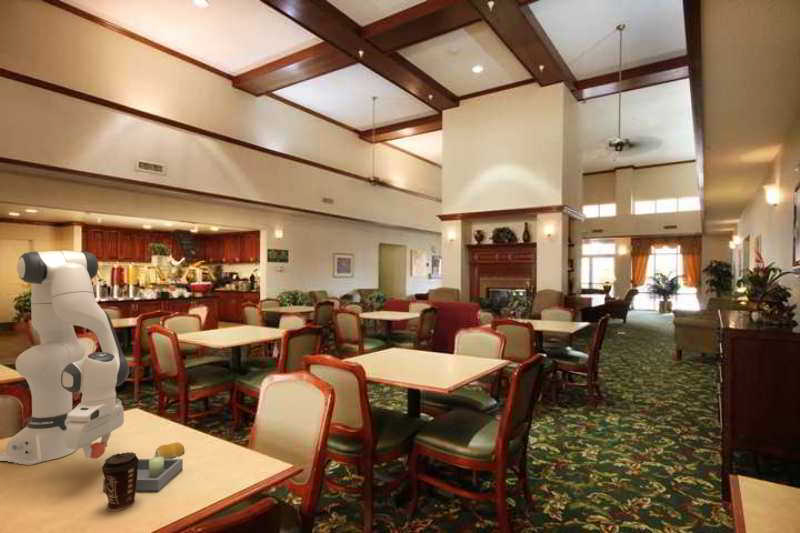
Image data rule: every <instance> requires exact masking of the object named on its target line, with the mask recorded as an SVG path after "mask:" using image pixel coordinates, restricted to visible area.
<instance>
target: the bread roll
mask: <svg viewBox="0 0 800 533" xmlns="http://www.w3.org/2000/svg"><path fill="white" fill-rule="evenodd" d="M184 452H185V446H184V444H183V443H181V442H178V441H177V442H172V443H169V444H162V445H160V446H158V447H157V448H156V449H155V453H154V457H159V456H161V457H164V459H174V458H177V456H178V457H181V456H182V455H183V453H184Z"/></svg>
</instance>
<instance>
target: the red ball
mask: <svg viewBox="0 0 800 533" xmlns="http://www.w3.org/2000/svg"><path fill="white" fill-rule="evenodd" d="M91 449H94V452H93V453H94V454H93V455H91V456H90V457H89V458H91V459H99V458H100V457H102V456H103V454H104V453H105V450H106V447H105V446H104V445H103V444H102V443H99V442H94V443H92V445H91Z"/></svg>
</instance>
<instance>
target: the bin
mask: <svg viewBox="0 0 800 533" xmlns="http://www.w3.org/2000/svg"><path fill="white" fill-rule="evenodd" d="M138 459H139V460H138V461H139V464H138V469H137V474H138V475H137V487H136V491H135V493H159V492H160V491H161V490H162V489H164V487H166V486H167V485H168V484H169V483H170V482H171V481H172V480H173V479H174V478H176V476H178V475H179V474H180V473H181V472H182V471H183V468H184V467H183V466H184V465H183V460H184V459H183V458H170V459H164V473H162V474H161V475H160V476H159V477H158V478H149V460H150V459H151V458H138ZM104 480H105V478H103V480H102V485H103V486H102V488H103V490H102V492H103V493H105V486H104Z"/></svg>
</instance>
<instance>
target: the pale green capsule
mask: <svg viewBox="0 0 800 533" xmlns="http://www.w3.org/2000/svg"><path fill="white" fill-rule="evenodd" d="M149 459H150V460H149V478H158V477H159V476H160V475H161V474H162V473H164V457H161V456H159V457H155V456H154V457H151V458H149Z"/></svg>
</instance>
